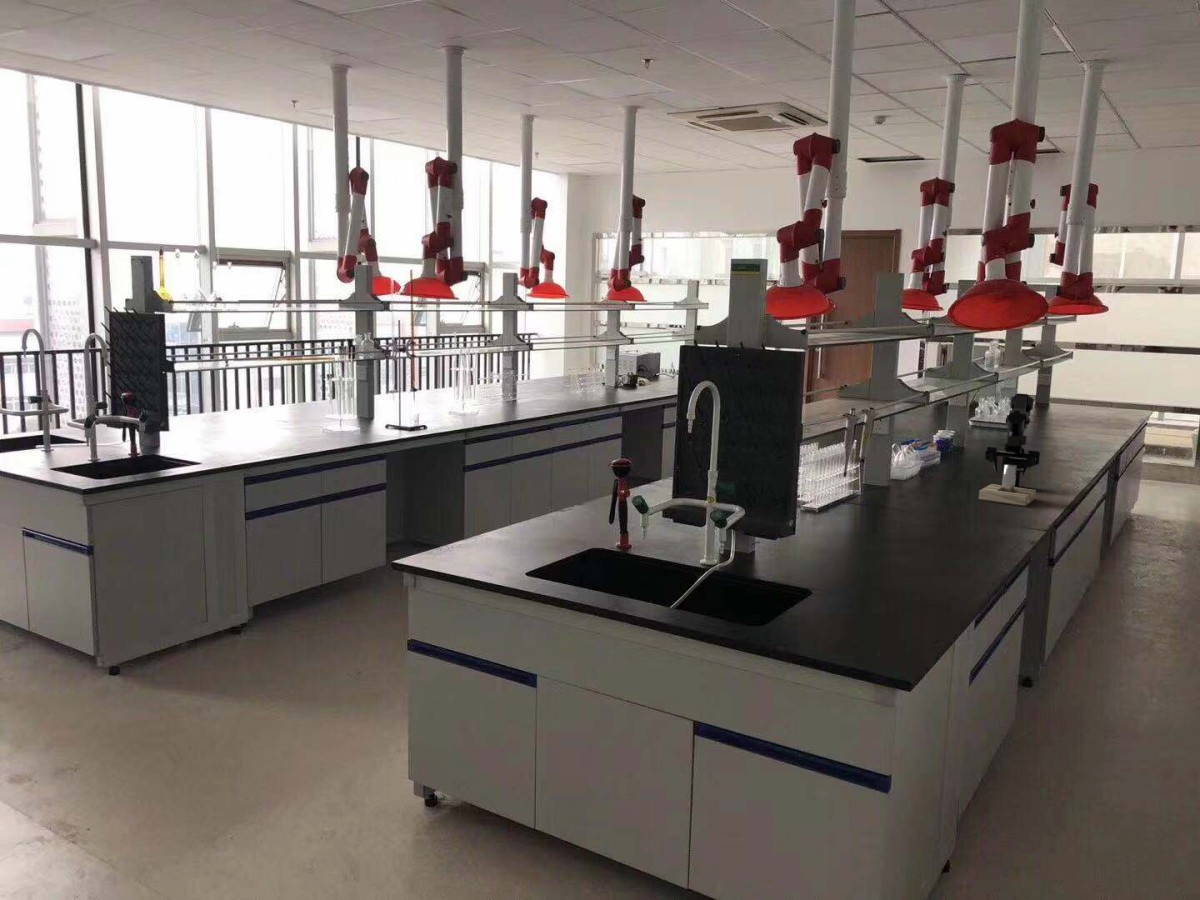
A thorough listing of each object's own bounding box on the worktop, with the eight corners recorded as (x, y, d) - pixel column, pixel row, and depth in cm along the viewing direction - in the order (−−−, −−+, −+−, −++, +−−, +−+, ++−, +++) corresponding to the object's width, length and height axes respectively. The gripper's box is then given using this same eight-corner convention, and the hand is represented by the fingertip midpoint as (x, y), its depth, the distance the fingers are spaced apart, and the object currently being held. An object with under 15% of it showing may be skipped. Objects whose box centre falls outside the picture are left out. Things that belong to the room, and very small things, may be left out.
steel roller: (998, 496, 346) (1001, 464, 344) (1009, 496, 347) (1013, 464, 344) (1004, 499, 342) (1007, 466, 340) (1015, 499, 342) (1019, 466, 340)
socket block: (990, 492, 355) (991, 483, 355) (1034, 499, 346) (1035, 490, 345) (978, 499, 343) (979, 490, 342) (1024, 506, 333) (1025, 497, 333)
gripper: (988, 425, 349) (982, 458, 341) (1042, 429, 341) (1038, 463, 333) (988, 442, 357) (982, 475, 350) (1041, 447, 349) (1036, 481, 341)
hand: (1009, 473), depth 343 cm, fingers open, 9 cm apart
